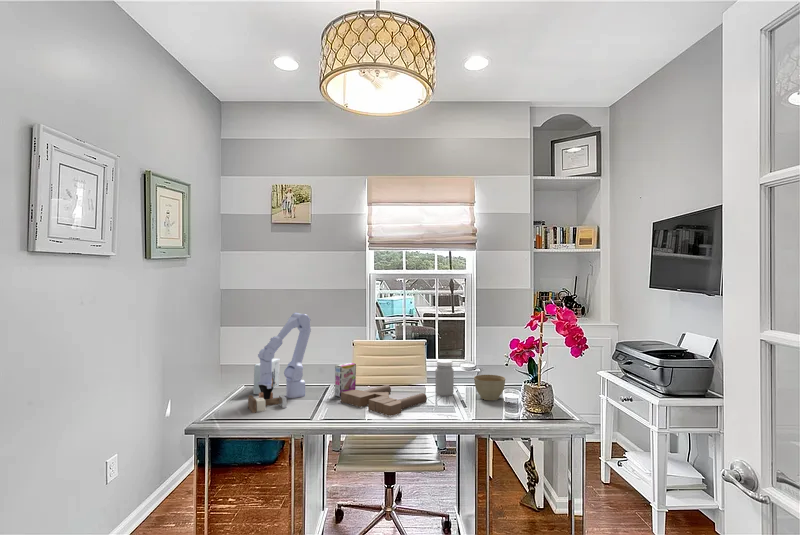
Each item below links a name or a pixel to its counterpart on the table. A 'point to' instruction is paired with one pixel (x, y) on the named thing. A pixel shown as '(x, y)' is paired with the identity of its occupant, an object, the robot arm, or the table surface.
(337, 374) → the candy bar box
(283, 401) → the grey rectangular block
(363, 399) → the bookends
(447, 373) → the jar
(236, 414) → the table surface
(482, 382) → the planter bowl
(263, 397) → the salmon orange block
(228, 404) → the table surface
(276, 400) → the wooden shelf
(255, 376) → the skincare box
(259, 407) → the cream book
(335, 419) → the table surface
